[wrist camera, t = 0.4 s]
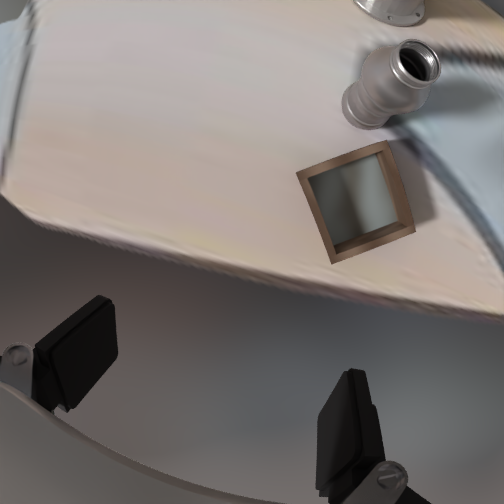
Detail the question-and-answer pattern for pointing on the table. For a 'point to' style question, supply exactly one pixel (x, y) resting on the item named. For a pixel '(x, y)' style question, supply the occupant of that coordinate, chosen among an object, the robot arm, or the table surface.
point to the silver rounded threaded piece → (391, 84)
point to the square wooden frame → (357, 201)
